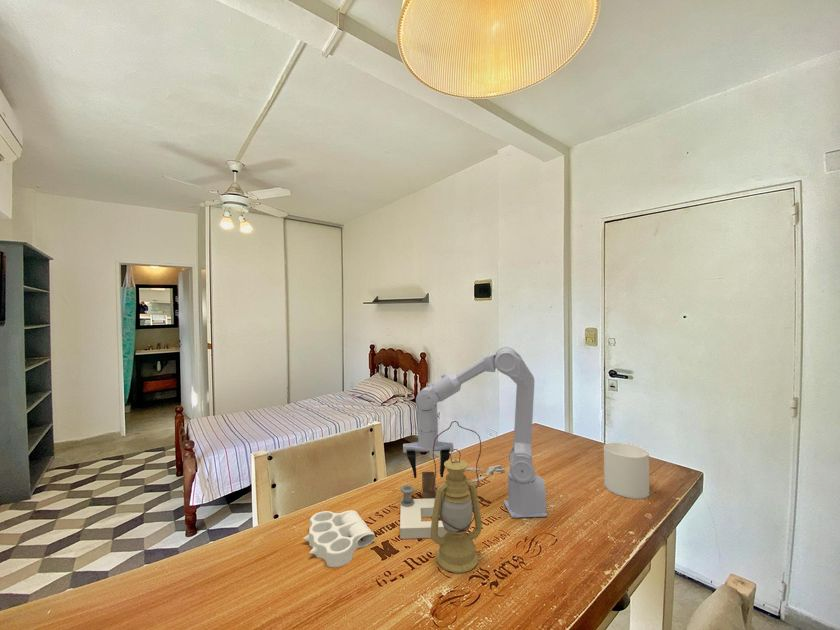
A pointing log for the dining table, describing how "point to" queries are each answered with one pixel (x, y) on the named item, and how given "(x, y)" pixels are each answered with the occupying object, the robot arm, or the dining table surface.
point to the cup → (626, 470)
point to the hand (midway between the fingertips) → (428, 476)
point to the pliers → (488, 471)
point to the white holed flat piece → (337, 536)
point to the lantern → (456, 517)
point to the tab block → (428, 485)
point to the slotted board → (416, 516)
